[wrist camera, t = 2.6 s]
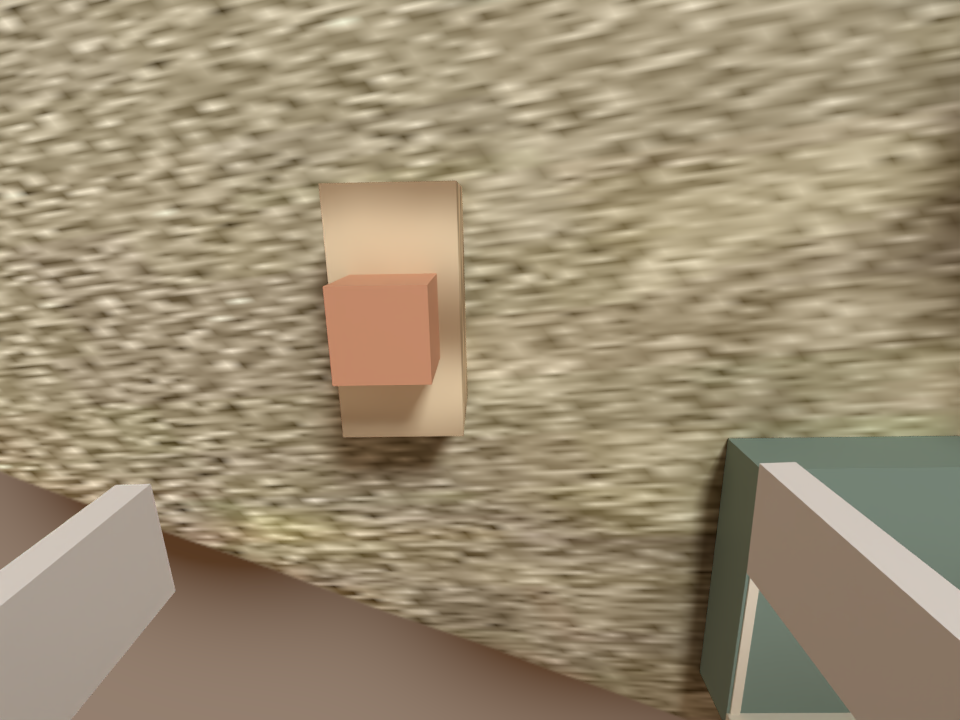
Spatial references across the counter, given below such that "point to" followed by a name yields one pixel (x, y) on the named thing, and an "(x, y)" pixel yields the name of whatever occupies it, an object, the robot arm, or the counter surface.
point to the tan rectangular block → (403, 250)
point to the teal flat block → (745, 611)
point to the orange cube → (383, 329)
